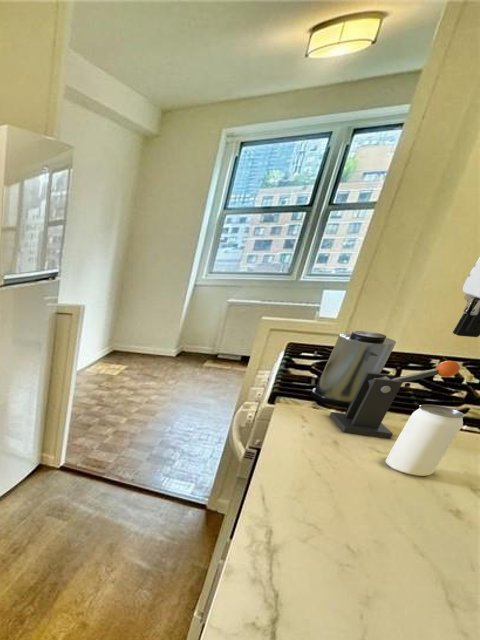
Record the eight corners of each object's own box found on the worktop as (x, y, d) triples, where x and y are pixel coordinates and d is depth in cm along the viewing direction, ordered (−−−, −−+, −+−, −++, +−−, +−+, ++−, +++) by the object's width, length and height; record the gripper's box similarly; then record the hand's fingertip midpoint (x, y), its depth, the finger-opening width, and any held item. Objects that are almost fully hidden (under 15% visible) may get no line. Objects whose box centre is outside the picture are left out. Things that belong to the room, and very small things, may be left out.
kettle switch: (455, 370, 98) (453, 356, 97) (464, 375, 95) (462, 361, 95) (369, 391, 105) (366, 377, 104) (375, 396, 103) (372, 382, 102)
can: (387, 470, 91) (421, 412, 85) (381, 456, 96) (412, 400, 90) (435, 480, 88) (473, 421, 82) (426, 466, 92) (462, 408, 87)
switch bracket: (373, 422, 110) (399, 372, 104) (390, 438, 102) (419, 386, 97) (329, 416, 112) (352, 368, 107) (343, 432, 105) (368, 381, 100)
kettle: (355, 393, 125) (386, 329, 117) (377, 413, 114) (413, 344, 106) (302, 387, 129) (329, 325, 121) (319, 406, 118) (350, 339, 110)
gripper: (588, 237, 78) (516, 348, 87) (526, 230, 90) (468, 328, 99) (523, 235, 81) (460, 343, 89) (472, 229, 93) (420, 324, 101)
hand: (465, 335), depth 94 cm, fingers closed
